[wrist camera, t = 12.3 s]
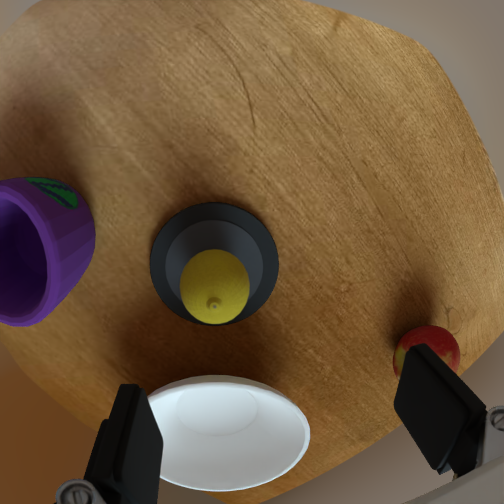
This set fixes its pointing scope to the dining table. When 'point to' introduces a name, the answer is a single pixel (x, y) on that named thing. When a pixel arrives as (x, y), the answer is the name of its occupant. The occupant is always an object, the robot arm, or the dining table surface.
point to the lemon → (214, 286)
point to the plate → (207, 238)
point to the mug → (40, 246)
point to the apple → (434, 338)
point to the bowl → (227, 432)
